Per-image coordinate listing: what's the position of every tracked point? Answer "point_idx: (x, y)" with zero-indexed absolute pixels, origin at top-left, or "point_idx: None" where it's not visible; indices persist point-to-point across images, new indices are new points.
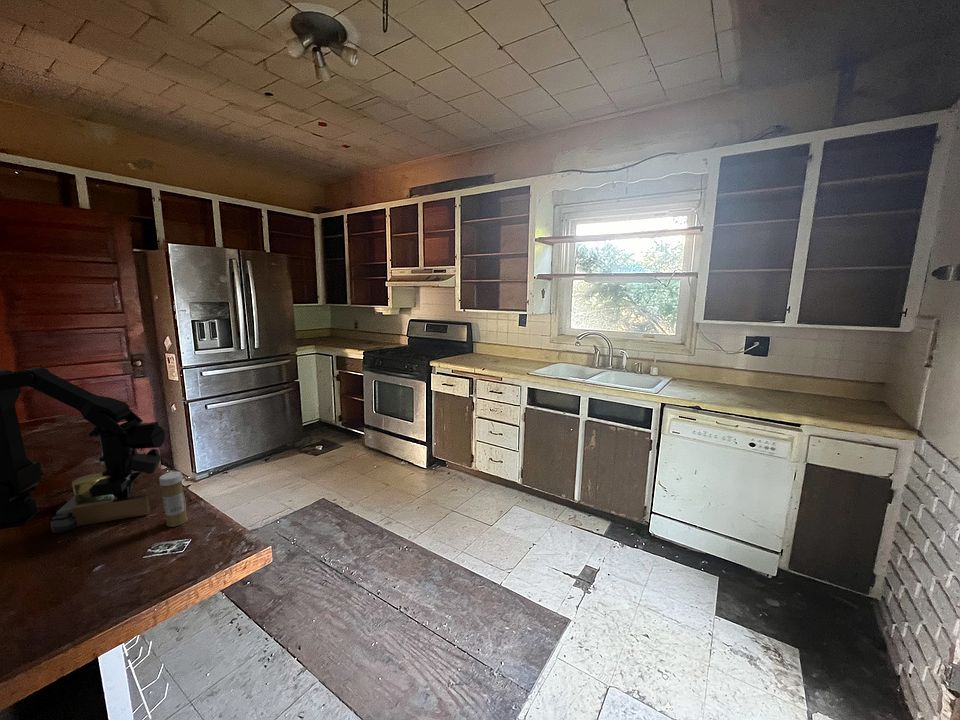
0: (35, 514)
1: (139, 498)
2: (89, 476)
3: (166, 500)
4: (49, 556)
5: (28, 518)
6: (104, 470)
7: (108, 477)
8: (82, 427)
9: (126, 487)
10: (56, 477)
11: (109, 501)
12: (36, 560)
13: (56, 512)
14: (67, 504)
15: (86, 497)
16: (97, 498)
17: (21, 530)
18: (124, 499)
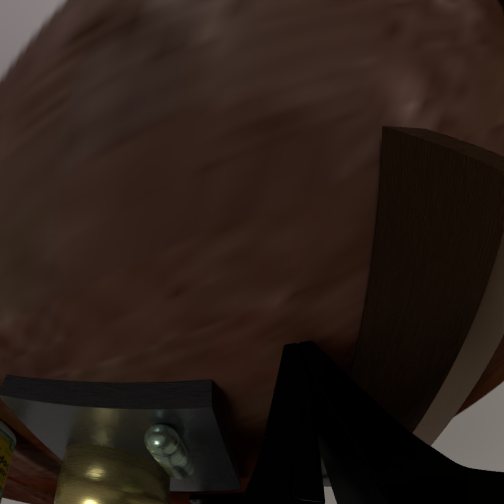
0: (210, 496)
1: None
2: None
3: None
4: (497, 358)
5: (239, 498)
6: (4, 480)
7: (7, 452)
8: None
9: (469, 470)
10: (34, 485)
11: (431, 429)
12: (493, 372)
13: (240, 488)
14: (187, 488)
15: (166, 485)
16: (188, 470)
17: None
18: (478, 362)
